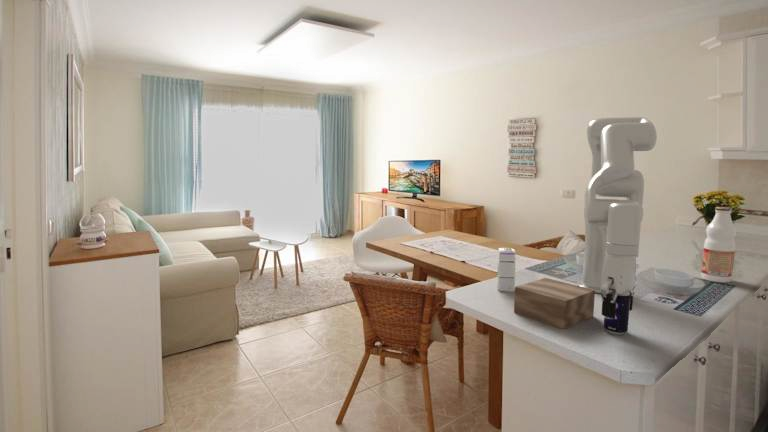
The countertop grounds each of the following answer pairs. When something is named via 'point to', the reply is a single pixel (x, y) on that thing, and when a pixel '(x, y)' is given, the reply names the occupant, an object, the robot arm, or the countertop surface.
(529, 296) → the walnut block
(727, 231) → the fruit juice
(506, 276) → the syrup box
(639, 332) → the countertop surface
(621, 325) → the beverage can
